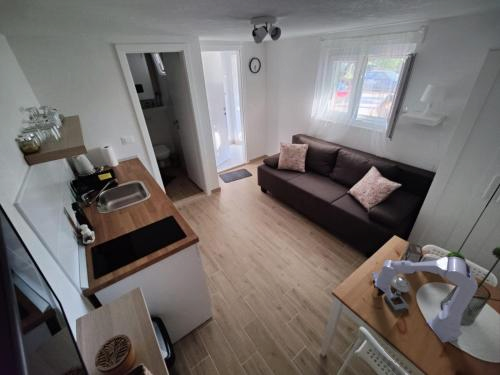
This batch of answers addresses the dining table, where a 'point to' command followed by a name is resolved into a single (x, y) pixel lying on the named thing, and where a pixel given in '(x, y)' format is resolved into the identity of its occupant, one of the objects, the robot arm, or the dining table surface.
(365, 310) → the dining table surface
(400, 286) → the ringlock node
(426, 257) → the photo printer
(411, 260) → the coffee box
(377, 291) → the wedge
